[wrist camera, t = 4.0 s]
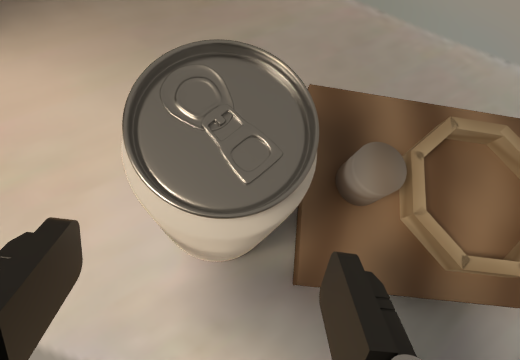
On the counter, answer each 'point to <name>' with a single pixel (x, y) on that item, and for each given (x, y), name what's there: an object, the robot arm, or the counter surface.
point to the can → (219, 145)
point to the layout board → (414, 198)
